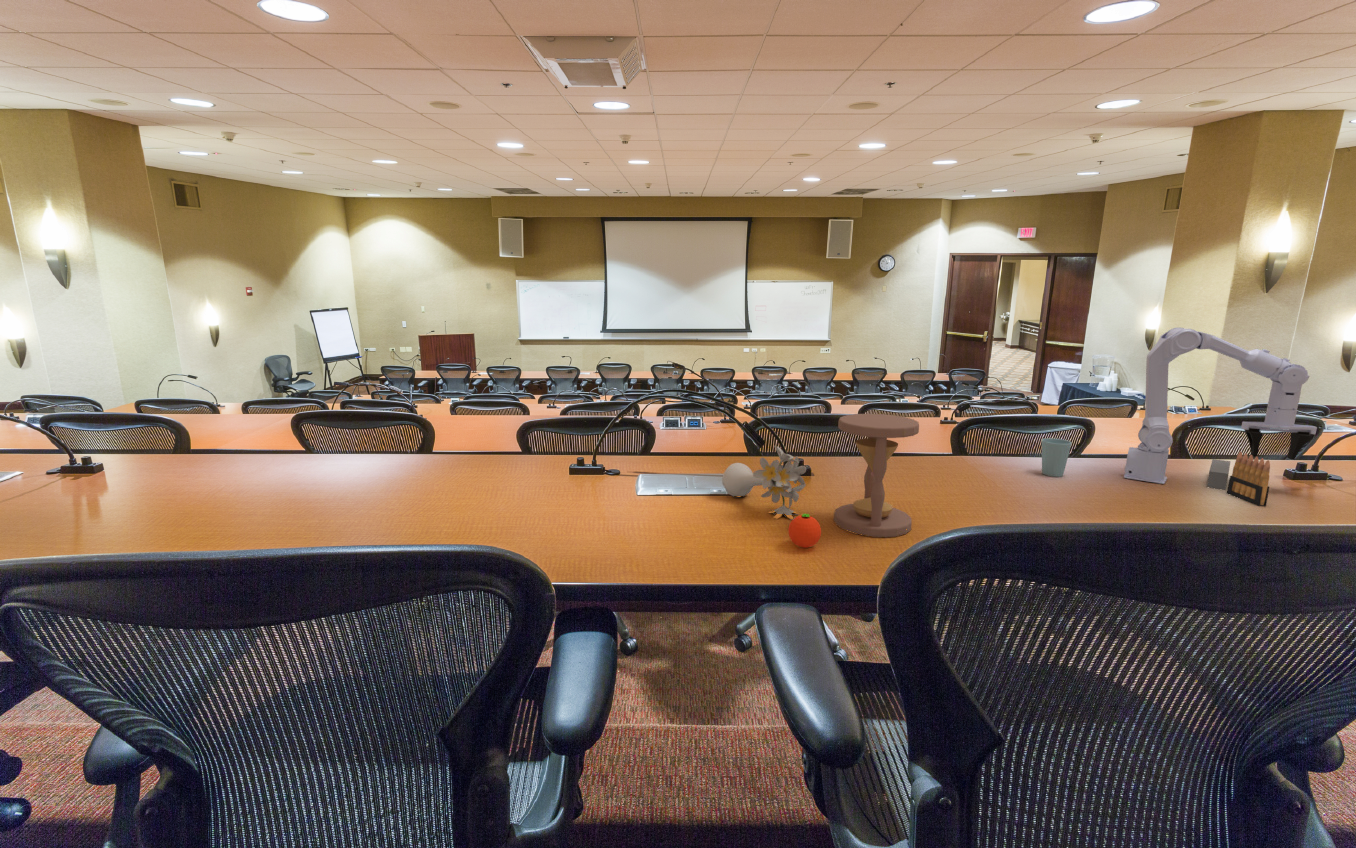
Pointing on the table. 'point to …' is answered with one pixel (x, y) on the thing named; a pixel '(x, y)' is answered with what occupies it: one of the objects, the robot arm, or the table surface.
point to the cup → (1054, 456)
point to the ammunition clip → (1250, 480)
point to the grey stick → (1218, 474)
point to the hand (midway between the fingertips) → (1272, 457)
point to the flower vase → (767, 479)
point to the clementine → (804, 531)
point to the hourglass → (875, 475)
